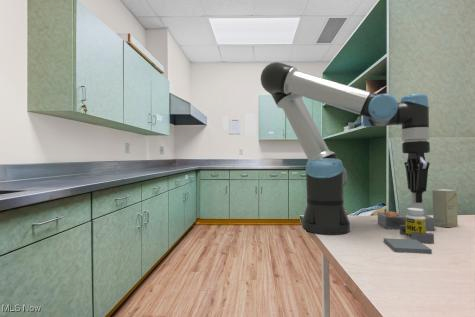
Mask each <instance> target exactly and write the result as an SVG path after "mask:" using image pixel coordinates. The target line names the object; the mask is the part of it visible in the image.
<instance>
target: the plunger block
mask: <svg viewBox="0 0 475 317" xmlns="http://www.w3.org/2000/svg"><path fill="white" fill-rule="evenodd" d="M386 212H387V211H385V212H383V211H382V212H381V211H378V212H377V224H378V225H379V226H380V227H382V228H383V229H384V230H392V229H394V231H396V230H397V231H398V230H399V231H400V225H406V215H407V212H396V214H397V216H386ZM423 216H424V217H425V218H426V232H435V231H436V230H435V228H436V226H435V225H434V218H433V217H432V216H430V215H427V214H426V213H424V215H423Z"/></svg>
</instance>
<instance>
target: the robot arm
mask: <svg viewBox="0 0 475 317" xmlns="http://www.w3.org/2000/svg"><path fill="white" fill-rule="evenodd" d="M260 84H261V86H262V88H263V89H264V91H266V92H267V93H268V94H270V95H271V97H272V98H273V101H274V103H275V104H276V106H277V108H279V109H282V110H283V113H284V114H285V116H286V119H287V121H288V122H289V124H290V127H291V128H292V130H293V132H294V134H295V137H296V139H297V140H298V143H300V146H301V148H302V150H303V152H304V154H305V157H306V158H307V162H306V166H305V175H306V176H305V177H306V207H305V211H304V214H303V218H302V221H301V228H302V230H305V231H306V232H310V233H314V234H320V235H344V234H347V233H349V232H350V231H351V223H350V220H349V218H348V215H347V212H346V209H345V206H344V205H345V204H344V187H345V185H346V184H347V181H348V173H347V170H346V168H345V167H344V166H343V161H342V160H341V159H339V158H338V156H337V154H336V153H335V152H334V151H331V150H329V148H328V145H327V144H326V142H325V140H324V137H323V136H322V135H321V132H320V131H319V129H318V127H317V124H316V122H315V121H314V119H313V117H312V116H311V113H310V112H309V110H308V108H307V106H306V104H305V102H304V100H303V97H304V98H307V99H310V100H313V101H316V102H319V103H322V104H325V105H329V106H332V107H334V108H337V109H341V110H344V111H347V112H349V113H353V114H356V115H360V116H362V125H363V127H364V128H365V127H366V128H371V127H372V128H375V127H384V126H385V127H386V126H388V127H389V126H400V125H401V141H402V144H401V146H402V147H401V149H402V153H403V154H408V155H407V159H406V160H407V161H404V168H405V174H406V180H407V189H408V190H410V192H411V193H410V194H411V196H410V197H411V208H419V209H423V210H424V199H423V197H424V195H423V194H424V193H425V192H427V188H428V187H427V186H428V177H429V176H428V175H429V168H430V162H427V161H426V156H425V153H426V154H427V153H430V152H431V149H430V148H431V147H430V146H431V145H430V144H431V143H430V142H429V141H428V140H430V134H431V131H430V118H429V117H430V113H429V112H430V111H429V109H430V105H429V98H428V95H427V94H425V93H413V94H407V95H404V96H402V97H401V99H400V101H399V102H398V100H397V99H396V97H395V96H394V95H392V94H389V93H374V92H371V91H368V90H364V89H362V88H361V89H360V88H357V87H355V86H352V85H351V86H350V85H346V84H343V83H340V82H336V81H332V80H330V79H326V78H323V77H320V76H316V75H312V74H309V73H306V72H303V71H302V72H301V71H298V68H297V66H296V67H295V66H292V65H290V64H286V63H283V62H278V61H275V62H271V63H269V64H267V65H266V66H265V67H264V68H263V70H262V71H261V74H260Z"/></svg>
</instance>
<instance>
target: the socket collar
mask: <svg viewBox="0 0 475 317" xmlns="http://www.w3.org/2000/svg"><path fill="white" fill-rule="evenodd" d="M399 234H400V235H404V236H406V225H400V230H399ZM411 234H412V239H415V240H418V241H419V242H421V243H422V244H431V245H432V244H433V245H434V244H435V234H434V233H432V232H426V233H420V232H411Z"/></svg>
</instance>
